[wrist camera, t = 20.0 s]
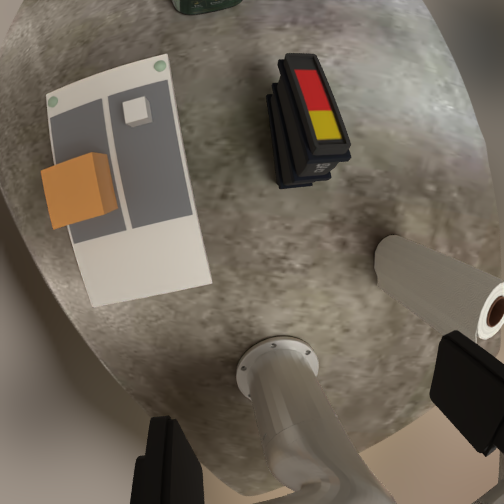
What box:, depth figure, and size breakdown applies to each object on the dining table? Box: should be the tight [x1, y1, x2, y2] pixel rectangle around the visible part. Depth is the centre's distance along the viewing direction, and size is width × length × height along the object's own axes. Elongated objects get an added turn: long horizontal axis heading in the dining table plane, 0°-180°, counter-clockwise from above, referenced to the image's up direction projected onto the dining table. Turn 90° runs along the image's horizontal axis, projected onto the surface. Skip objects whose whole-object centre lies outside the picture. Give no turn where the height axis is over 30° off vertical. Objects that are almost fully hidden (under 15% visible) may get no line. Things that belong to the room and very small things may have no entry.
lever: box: [123, 96, 153, 127], centre depth 28 cm, size 2×2×3 cm
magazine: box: [266, 53, 351, 189], centre depth 30 cm, size 4×13×15 cm, turn 6°
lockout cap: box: [41, 152, 118, 229], centre depth 29 cm, size 6×6×5 cm
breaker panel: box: [46, 54, 212, 308], centre depth 33 cm, size 28×16×3 cm, turn 10°
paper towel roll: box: [374, 235, 504, 343], centre depth 32 cm, size 7×6×21 cm
